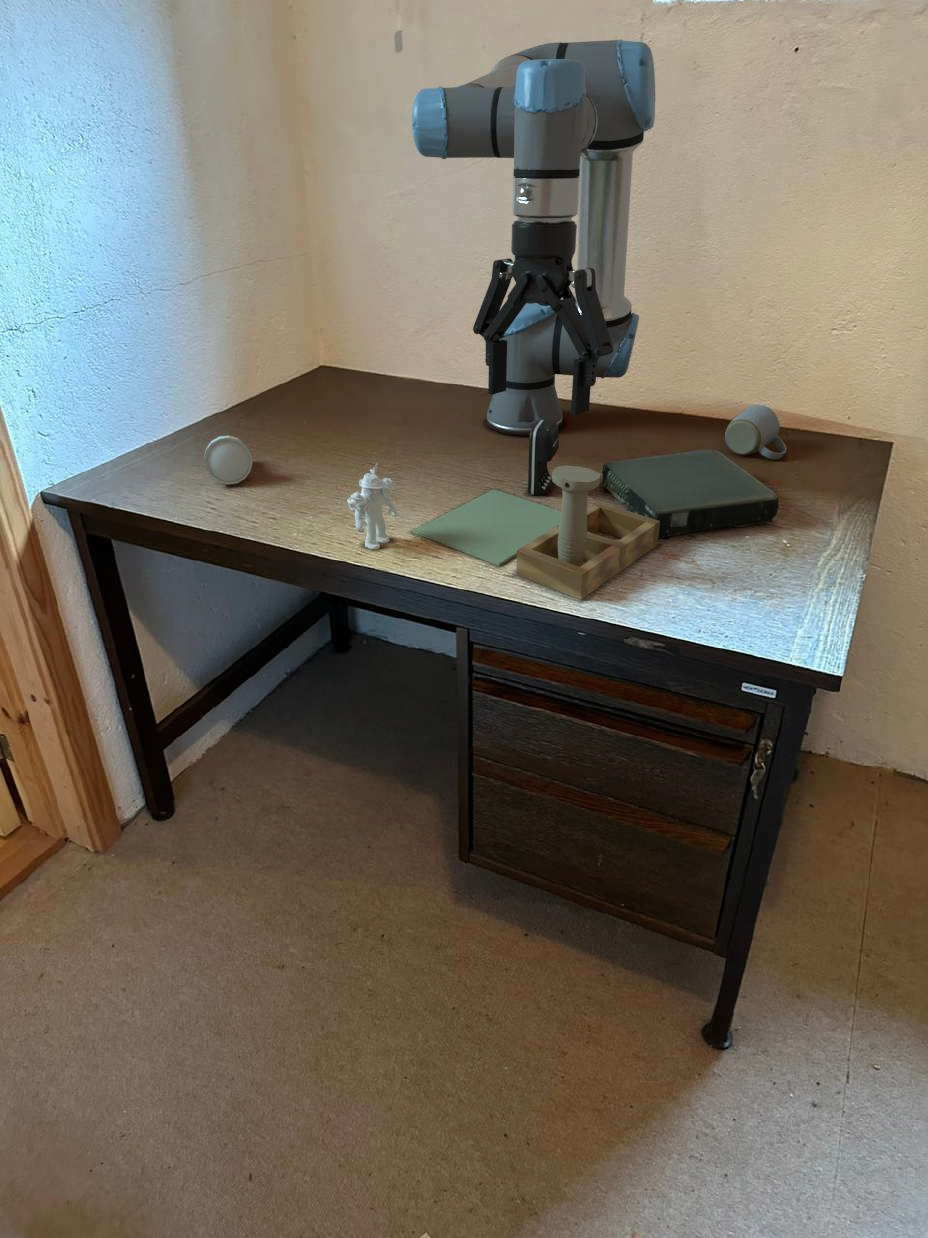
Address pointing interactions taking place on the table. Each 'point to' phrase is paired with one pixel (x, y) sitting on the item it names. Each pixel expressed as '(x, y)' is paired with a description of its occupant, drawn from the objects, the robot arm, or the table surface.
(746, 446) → the ceramic mug
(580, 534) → the handle
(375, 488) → the flower shoulder figurine
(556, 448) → the battery charger
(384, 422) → the table surface
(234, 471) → the spotlight
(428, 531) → the mat
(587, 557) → the rack
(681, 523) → the network switch
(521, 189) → the robot arm
